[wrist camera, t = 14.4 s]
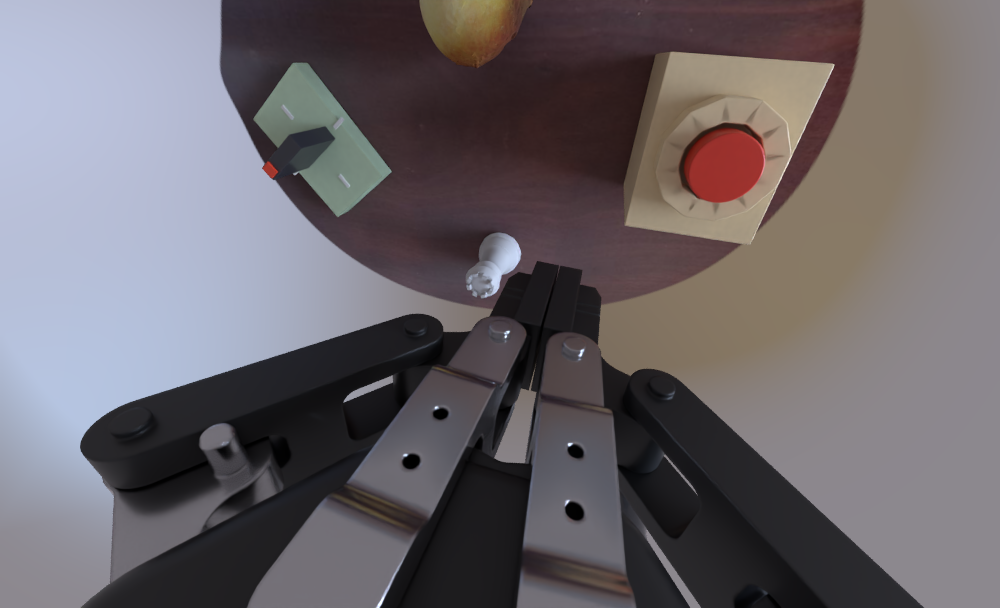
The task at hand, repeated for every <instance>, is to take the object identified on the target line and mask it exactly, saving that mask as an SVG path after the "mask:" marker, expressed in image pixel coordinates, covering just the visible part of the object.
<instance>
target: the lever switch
mask: <svg viewBox="0 0 1000 608" xmlns="http://www.w3.org/2000/svg"><path fill="white" fill-rule="evenodd" d="M253 120H254V121H255V122H256V123H257V124H258V125H259V127H260V128H261V129H262V130H263V131H264V132H265V133H266V135H267V136H268V137H269V138H270V139H271V140H272V142H273V143H274V144H275V145H276V146H277V147H278V148H279V146H280V145H281V144H282V143H283V141H284V140H285V139H286V138H287V137H288V135H289V134H294V133H298V132H302V131H307V130H311V129H316V128H320V127H324V126H326V127H327V129H328V130H329V131H330V132H331V134H332V135H333V136H334V137H335V140H334V141H333V142H332V143H331V144H330V145H329V147H328V148H327V149H326V150H325V151H324V152H323V153H322V154H321V155H320V156H319V157H318V158H317V160H316V161H315V162H314V163H313V164H312V165H311V166H310V167H309V168H307V169H304V170H301V171H298V172H299V173H300V174H301V175H302V176H303V178H304V179H305V180H306V181H307V182H308V183H309V185H310V186H311V187H312V188H313V189H314V190H315V191H316V193H317V194H318V195H319V196H320V197H321V198H322V200H323V201H324V202H325V203H326V204H327V205H328V207H329V208H330V209H331V210H332V211H333V212H334V213H335V215H336V216H337V217H339V216H341V215H343V214H344V213H346V212H348V211H349V210H350V209H351V208H352V207H354V206H355V205H356V204H357V203H358V202H359V201H360V200H361V199H362V198H364V197H365V196H366V195H367V194H368V193H369V192H370V191H371V190H372V189H374V188H375V187H376V186H377V185H378V184H379V183H380V182H381V181H382V180H384V179H385V178H386V177H387V176H388V175H389V174H390V173H391V172H392V171H391V170H390V168H389V167H388V166H387V165H386V163H385V162H384V161H383V159H382V158H381V157H380V156H379V154H378V153H377V152H376V150H375V149H374V148H373V147H372V145H371V144H370V143H369V141H368V140H367V139H366V138H365V136H364V135H363V134H362V132H361V131H360V130H359V129H358V127H357V126H356V125H355V123H354V122H353V121H352V120H351V118H350V117H349V116H348V114H347V113H346V112H345V111H344V109H343V108H342V107H341V105H340V104H339V103H338V102H337V100H336V99H335V98H334V96H333V95H332V94H331V93H330V91H329V90H328V89H327V87H326V86H325V85H324V83H323V82H322V81H321V80H320V78H319V77H318V76H317V74H316V73H315V72H314V71H313V69H312V68H311V67H310V65H309V64H308V63H292V65H291V66H290V68H289V69H288V70H287V72H286V73H285V75H284V76H283V77H282V79H281V80H280V82H279V83H278V85H277V86H276V87H275V89H274V90H273V92H272V93H271V95H270V96H269V97H268V99H267V100H266V102H265V103H264V104H263V106H262V107H261V109H260V110H259V112H258V113H257V114H256V116H255V117H254V119H253ZM298 172H296V173H293V174H294V175H296V174H297V173H298Z"/></svg>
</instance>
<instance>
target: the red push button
mask: <svg viewBox="0 0 1000 608" xmlns="http://www.w3.org/2000/svg"><path fill="white" fill-rule="evenodd" d="M764 166H765V154H764V150H763V148H762V146H761V145H760V143H759V142H758V141H757V140H756V139H755V138H753V137H752V136H750V135H748V134H747V133H745V132H743V131H741V130H738V129H734V128H722V129H717V130H714V131H712V132H709V133H707V134H706V135H704V136H703V137H701V138H700V139H699V140H698V141H697V142H696V143H695V144H694V145H693V146H692V147H691V149H690V150H689V152H688V154H687V156H686V159H685V163H684V174H685V178H686V180H687V182H688V184H689V186H690V188H691V189H692V191H693V192H694V193H695V194H696V195H697V196H698V197H699V198H701V199H703V200H705V201H708V202H713V203H723V202H728V201H732V200H735V199H737V198H739V197H741V196H743V195H744V194H746V193H747V192H748V191H750V190H751V189H752V188H753V187H754V186H755V184H756V183H757V182H758V180H759V179H760V177H761V175H762V173H763V170H764Z"/></svg>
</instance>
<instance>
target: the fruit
mask: <svg viewBox="0 0 1000 608" xmlns="http://www.w3.org/2000/svg"><path fill="white" fill-rule="evenodd" d="M532 1H533V0H420V9H421V13H422V17H423V20H424V23H425V25H426V28H427V30H428V32H429V34H430V36H431V38H432V40H433V41H434V43H435V45H436V46H437V47H438V49H439V50H440V51H441V52H442V53H443V54H444V55H445V56H446V57H448V58H449V59H450V60H452V61H453V62H456V64H457V65H463V66H470V67H475V68H478V67H480V66H482V65H483V64H485V63H487V62H489V61H490V60H492V59H494V58H495V57H496V56H497V55H498V54H499V53H500V52H501V51H502V50H503V48H504V46H505V45H506V44H507V43H508V42H509V41H511V40H512V39H514V38H515V37H516V35H517V33H518V30H519V28H520V25H521V22H522V20H523V17H524V14H525V12H526V10H527V8H528V7H529V8H530V7H531V4H532Z"/></svg>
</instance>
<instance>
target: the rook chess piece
mask: <svg viewBox="0 0 1000 608" xmlns="http://www.w3.org/2000/svg"><path fill="white" fill-rule="evenodd" d="M520 256H521V251H520V248H519V245H518V243H517V242H516V241H515V240H514V238H512V237H510V236H509V235H507V234H504V233H494V234H490V235H489V236H487V237H486V238H485V239H484V240H483V242H482V244H481V246H480V248H479V259H480V262H478V263H477V264H476V265H475V266H474V267H472V268H471V269H470V270H469V271H468V273H467V274H466V282H467V289H468V291H469V290H471V291H472V292H473V293H472V295H473V296H475V297H477V295H480V296H481V298H486V297H487V296H491V295H493V294H495V293H496V292H497V290H498V289H499V281H500V280H501V275H503V274H507V273H509V272H510V271H512V270H513V269H514V268H515V267H516V265H517V264H518V262H519V261H520Z"/></svg>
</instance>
